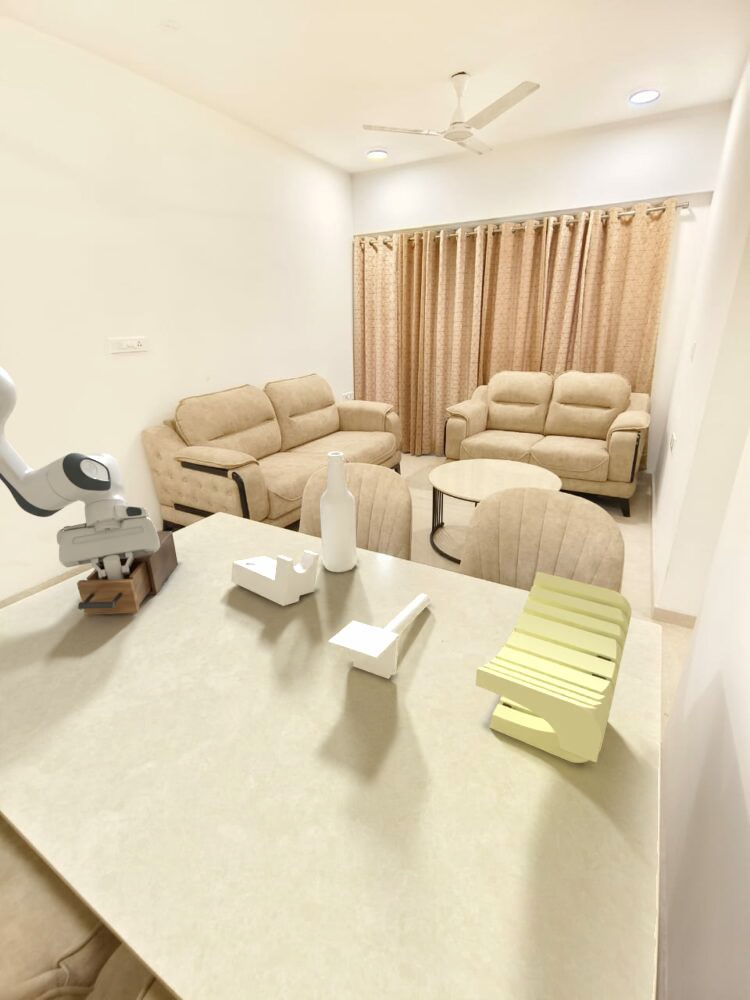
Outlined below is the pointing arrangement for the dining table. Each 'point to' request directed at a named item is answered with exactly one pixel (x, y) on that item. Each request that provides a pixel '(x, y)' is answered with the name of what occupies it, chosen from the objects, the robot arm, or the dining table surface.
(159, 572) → the cabinet
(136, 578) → the drawer
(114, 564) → the tube
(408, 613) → the white block on rod
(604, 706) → the slatted curved stool
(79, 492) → the robot arm
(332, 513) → the alcohol
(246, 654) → the dining table surface
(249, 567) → the white cradle stand
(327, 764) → the dining table surface
